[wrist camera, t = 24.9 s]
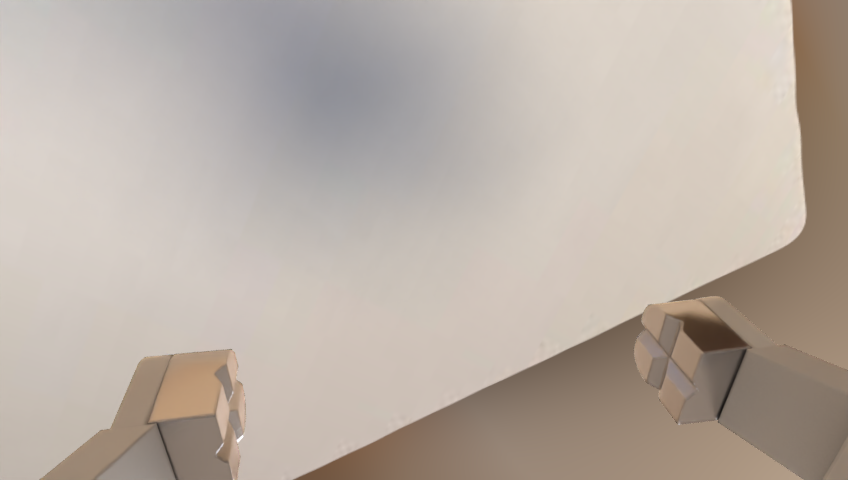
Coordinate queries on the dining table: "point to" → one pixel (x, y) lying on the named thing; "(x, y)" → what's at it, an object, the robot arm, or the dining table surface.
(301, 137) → the dining table surface
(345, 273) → the dining table surface
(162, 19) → the dining table surface
